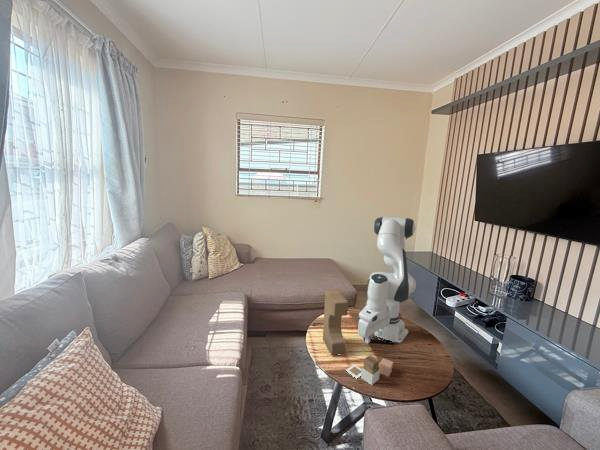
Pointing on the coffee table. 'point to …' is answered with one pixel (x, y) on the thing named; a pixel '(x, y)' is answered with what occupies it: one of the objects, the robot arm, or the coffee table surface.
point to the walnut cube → (371, 364)
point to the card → (354, 371)
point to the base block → (370, 376)
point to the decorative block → (334, 321)
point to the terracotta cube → (385, 367)
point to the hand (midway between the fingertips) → (373, 338)
